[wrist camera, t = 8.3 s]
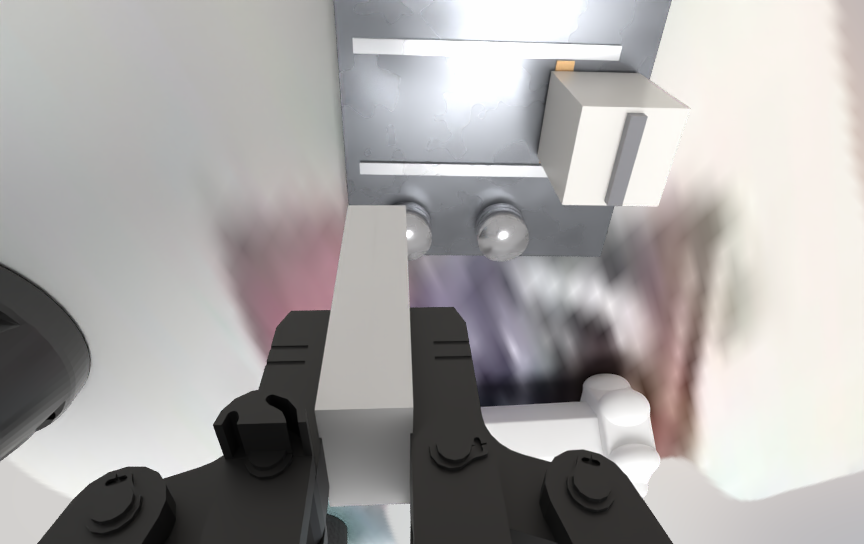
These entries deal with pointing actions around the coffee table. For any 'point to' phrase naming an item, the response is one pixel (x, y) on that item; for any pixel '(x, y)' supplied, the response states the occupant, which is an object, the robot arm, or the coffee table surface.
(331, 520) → the coffee cup
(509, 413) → the bone shaped toy
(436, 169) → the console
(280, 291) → the coffee table surface
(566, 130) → the block
